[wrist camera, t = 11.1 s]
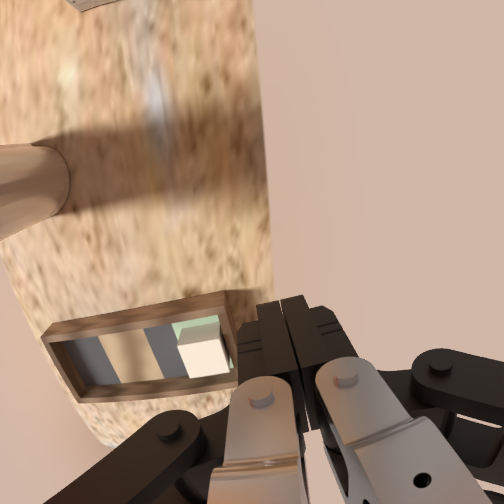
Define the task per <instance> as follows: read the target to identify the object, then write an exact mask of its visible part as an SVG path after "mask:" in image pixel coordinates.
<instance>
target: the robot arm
mask: <svg viewBox="0 0 504 504" xmlns="http://www.w3.org/2000/svg"><path fill="white" fill-rule="evenodd" d="M69 186H70V178H69V171H68V168H67V165H66V163H65V161H64V159H63V158H62V156H61V155H60V154H59V153H58V152H57V151H56V150H54V149H52V148H50V147H46V146H33V145H31V144H30V143H29V144H12V145H0V241H1V240H3V239H5V238H7V237H9V236H11V235H13V234H15V233H17V232H19V231H21V230H23V229H25V228H28V227H30V226H32V225H34V224H36V223H38V222H40V221H43V220H45V219H47V218H49V217H51V216H53V215H55V214H56V213H57V212H58V211H59V210H60V209H61V208H62V207H63V205H64V204H65V201H66V199H67V197H68V193H69ZM280 301H281V307H282V311H281V307H280V304H279V300H278V301H273V302H268V303H264V304H259V305H256V308H257V314H258V321H253V322H248V323H243V324H242V326H241V328H240V329H239V331H238V332H237V354H238V355H237V367H238V387H237V388H236V389H235V390H234V392H233V393H232V395H231V398H230V404H229V405H228V406H227V407H226V408H224V409H223V410H221V411H219V412H217V413H215V414H212V415H210V416H207V417H204V418H202V419H199V420H198V419H197V417H196V416H195V415H194V414H192V413H190V412H188V411H184V410H170V411H166V412H163V413H160V414H158V415H156V416H155V417H153V418H152V419H151V420H149V421H148V422H147V423H146V424H145V425H143V426H142V427H141V428H140V429H139V430H137V431H136V432H135V433H134V434H132V435H131V436H130V437H129V438H128V439H126V440H125V441H124V442H123V443H121V444H120V445H119V446H118V447H117V448H115V449H114V450H113V451H112V452H110V453H109V454H108V455H107V456H105V457H104V458H103V459H102V460H100V461H99V462H98V463H96V464H95V465H94V466H93V467H91V468H90V469H89V470H87V471H86V472H85V473H84V474H82V475H81V476H80V477H78V478H77V479H76V480H75V481H73V482H72V483H70V484H69V485H68V486H66V487H65V488H64V489H62V490H61V491H60V492H58V493H57V494H56V495H54V496H53V497H51V498H50V499H49V500H47V501H46V502H45V503H43V504H310V496H309V487H308V479H307V469H306V461H305V455H304V453H305V449H306V447H305V441H304V436H303V433H305V432H308V431H309V428H308V421H307V416H306V411H307V415H308V419H309V423H310V426H311V430H317V429H320V430H321V434H322V437H323V443H324V451H325V454H326V456H327V459H328V461H329V464H330V466H331V469H332V471H333V474H334V476H335V479H336V482H337V484H338V486H339V489H340V492H341V494H342V497H343V499H344V502H345V504H504V495H503V494H500V493H497V492H493V491H488V490H483V489H482V488H481V487H480V485H479V484H478V483H477V481H476V480H475V478H476V479H478V480H482V481H486V482H489V483H492V484H496V485H500V486H503V487H504V362H501V361H497V360H493V359H488V358H484V357H480V356H475V355H471V354H467V353H463V352H459V351H455V350H450V349H443V348H440V349H432V350H428V351H426V352H423V353H422V354H420V355H419V356H418V357H417V358H416V359H415V360H414V362H413V364H412V369H409V370H399V371H380V370H376V369H375V367H374V366H373V365H372V364H371V363H370V362H368V361H367V360H365V359H362V358H359V356H358V355H357V353H356V351H355V349H354V348H353V346H352V344H351V342H350V340H349V339H348V337H347V335H346V333H345V332H344V330H343V328H342V326H341V325H340V323H339V322H338V320H337V318H336V316H335V314H334V312H333V311H331V310H329V309H328V308H326V307H324V306H319V307H314V308H310V309H309V307H308V305H307V303H306V300H305V299H304V296H303V295H299V296H295V297H290V298H286V299H282V300H280ZM282 312H283V314H282ZM305 408H306V410H305ZM457 414H461V415H464V416H468V417H471V418H475V419H478V420H482V421H485V422H489V423H493V424H496V425H500V426H502V427H501V428H494V427H490V426H487V425H483V424H480V423H476V422H473V421H469V420H466V419H463V418H459V417H457Z"/></svg>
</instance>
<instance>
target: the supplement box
mask: <svg viewBox="0 0 504 504" xmlns="http://www.w3.org/2000/svg"><path fill="white" fill-rule="evenodd" d="M65 1H66V2H68V3H69V4H70V5H71V6H73V7H74V8H75V9H76V10H77V11H79V12H82V11H85V10H87V9H90V8H93V7H96V6H99V5H102V4H105V3H109V2H113V1H116V0H65Z"/></svg>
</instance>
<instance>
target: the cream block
mask: <svg viewBox="0 0 504 504" xmlns="http://www.w3.org/2000/svg"><path fill="white" fill-rule="evenodd" d="M177 347H178V350H179V353H180V355H181V358H182V360H183V363H184V365H185V368H186V370H187V372H188V375H189V377H190V378H196V377H203V376H209V375H216V374H222V373H228V372H230V354H229V351H228V348H227V344H226V341H225V338H224V335H223V332H222V328H221V325H220V322H219V321H218V322H213V323H208V324H202V325H197V326H192V327H186V328H181V332H180V336H179V340H178V344H177Z"/></svg>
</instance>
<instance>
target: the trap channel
mask: <svg viewBox="0 0 504 504" xmlns="http://www.w3.org/2000/svg"><path fill="white" fill-rule="evenodd" d="M218 321H219V322H220V325H221V328H222V332H223V335H224V338H225V341H226V344H227V348H228V351H229V354H230V372H228V373H222V374H216V375H209V376H203V377H196V378H190V377H189V375H188V372H187V370H186V368H185V365H184V363H183V360H182V358H181V355H180V353H179V350H178V347H177V344H178V340H179V336H180V332H181V328H186V327H192V326H197V325H202V324H208V323H213V322H218ZM41 339H42V341H43V343H44V345H45V347H46V349H47V351H48V353H49V355H50V357H51V358H52V360H53V362H54V364H55V366H56V367H57V369H58V371H59V373H60V374H61V376H62V378H63V379H64V381H65V383H66V384H67V386H68V388H69V389H70V391H71V393H72V394H73V396H74V397H75V399H76V401H77V402H78V403H101V402H119V401H133V400H145V399H156V398H165V397H174V396H182V395H190V394H197V393H204V392H211V391H217V390H224V389H230V388H235V387H238V367H237V355H238V354H237V332H236V329H235V325H234V322H233V318H232V315H231V311H230V307H229V304H228V300H227V297H226V293H225V290H223V291H218V292H213V293H209V294H204V295H199V296H194V297H189V298H184V299H179V300H174V301H169V302H164V303H159V304H154V305H149V306H144V307H139V308H134V309H128V310H123V311H118V312H112V313H107V314H102V315H96V316H91V317H85V318H79V319H74V320H68V321H62V322H56V323H52V324H51V326H50V327H49V328H48V329H47V330H46V331H45V332H44V334H43V335H42V336H41Z"/></svg>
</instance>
